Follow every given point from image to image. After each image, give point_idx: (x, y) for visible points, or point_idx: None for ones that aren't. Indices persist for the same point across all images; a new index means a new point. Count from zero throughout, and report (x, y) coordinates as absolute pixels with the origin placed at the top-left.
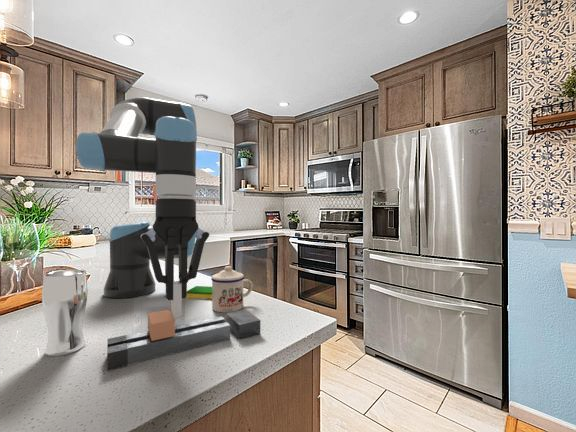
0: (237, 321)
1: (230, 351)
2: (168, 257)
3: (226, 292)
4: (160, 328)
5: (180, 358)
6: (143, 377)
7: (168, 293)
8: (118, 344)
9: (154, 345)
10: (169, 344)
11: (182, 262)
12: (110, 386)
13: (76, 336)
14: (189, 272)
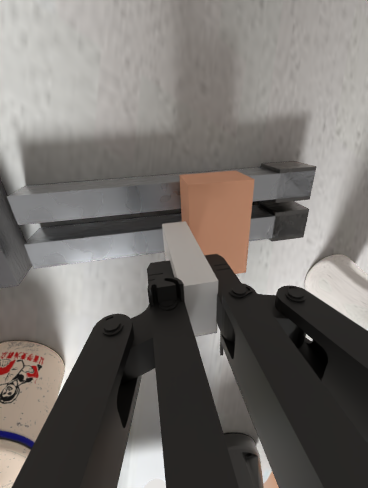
0: None
1: (29, 110)
2: (359, 449)
3: (1, 393)
4: (224, 177)
5: (162, 141)
6: (243, 92)
7: (223, 268)
8: (287, 208)
9: None
10: None
11: (203, 412)
12: (298, 92)
13: (335, 278)
14: (134, 365)
